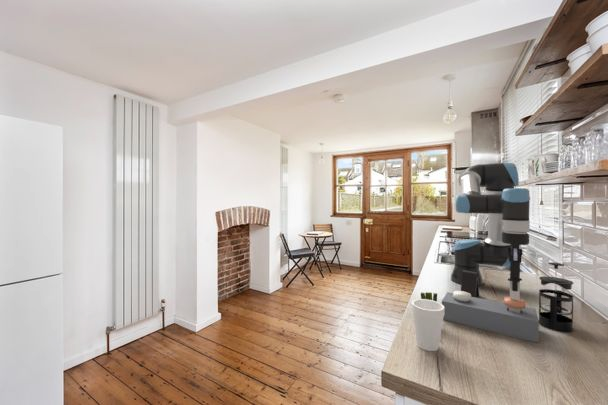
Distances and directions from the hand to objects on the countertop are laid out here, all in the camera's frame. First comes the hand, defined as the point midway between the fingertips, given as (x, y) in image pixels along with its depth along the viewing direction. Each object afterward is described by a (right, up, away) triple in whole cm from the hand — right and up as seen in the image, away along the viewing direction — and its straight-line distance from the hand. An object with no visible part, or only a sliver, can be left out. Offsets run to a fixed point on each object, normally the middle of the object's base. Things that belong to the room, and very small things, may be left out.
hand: (514, 299), depth 93 cm
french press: (+17, -11, +3) cm, 21 cm away
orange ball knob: (0, -9, 0) cm, 9 cm away
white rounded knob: (-13, -10, +10) cm, 19 cm away
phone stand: (+4, -11, +32) cm, 34 cm away
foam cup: (-35, -11, -9) cm, 38 cm away
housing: (-6, -11, +5) cm, 14 cm away
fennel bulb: (-28, -11, +4) cm, 31 cm away
